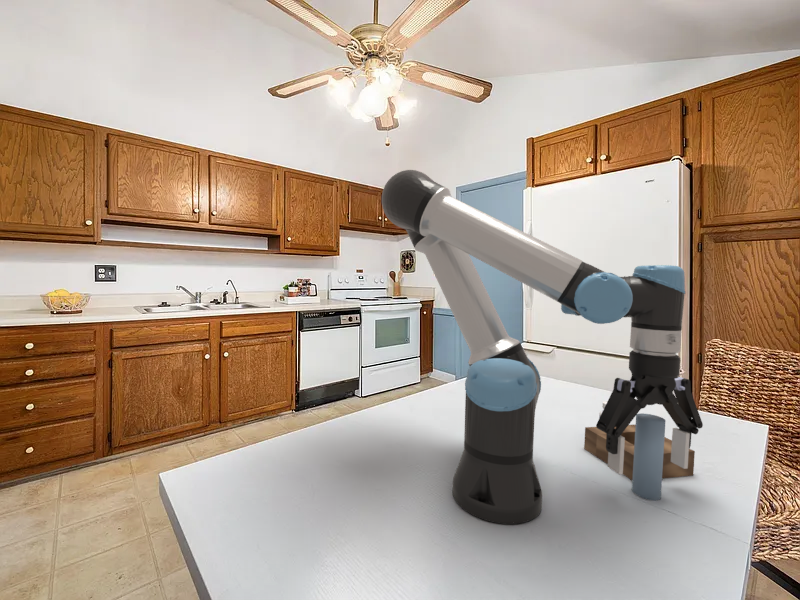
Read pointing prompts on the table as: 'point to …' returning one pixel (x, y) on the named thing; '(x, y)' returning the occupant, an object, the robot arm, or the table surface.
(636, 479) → the peg
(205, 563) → the table surface
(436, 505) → the table surface
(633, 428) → the socket block
